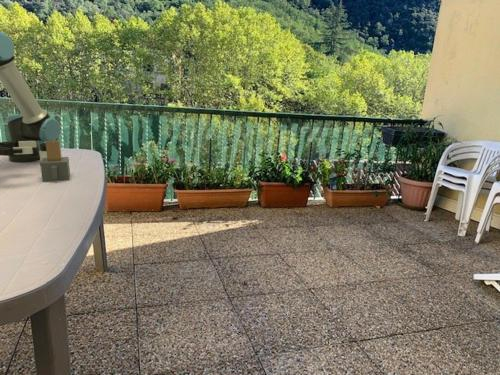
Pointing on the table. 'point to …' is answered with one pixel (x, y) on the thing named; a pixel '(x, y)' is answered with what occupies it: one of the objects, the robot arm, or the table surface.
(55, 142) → the plunger
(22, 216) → the table surface
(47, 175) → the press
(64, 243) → the table surface
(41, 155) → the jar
